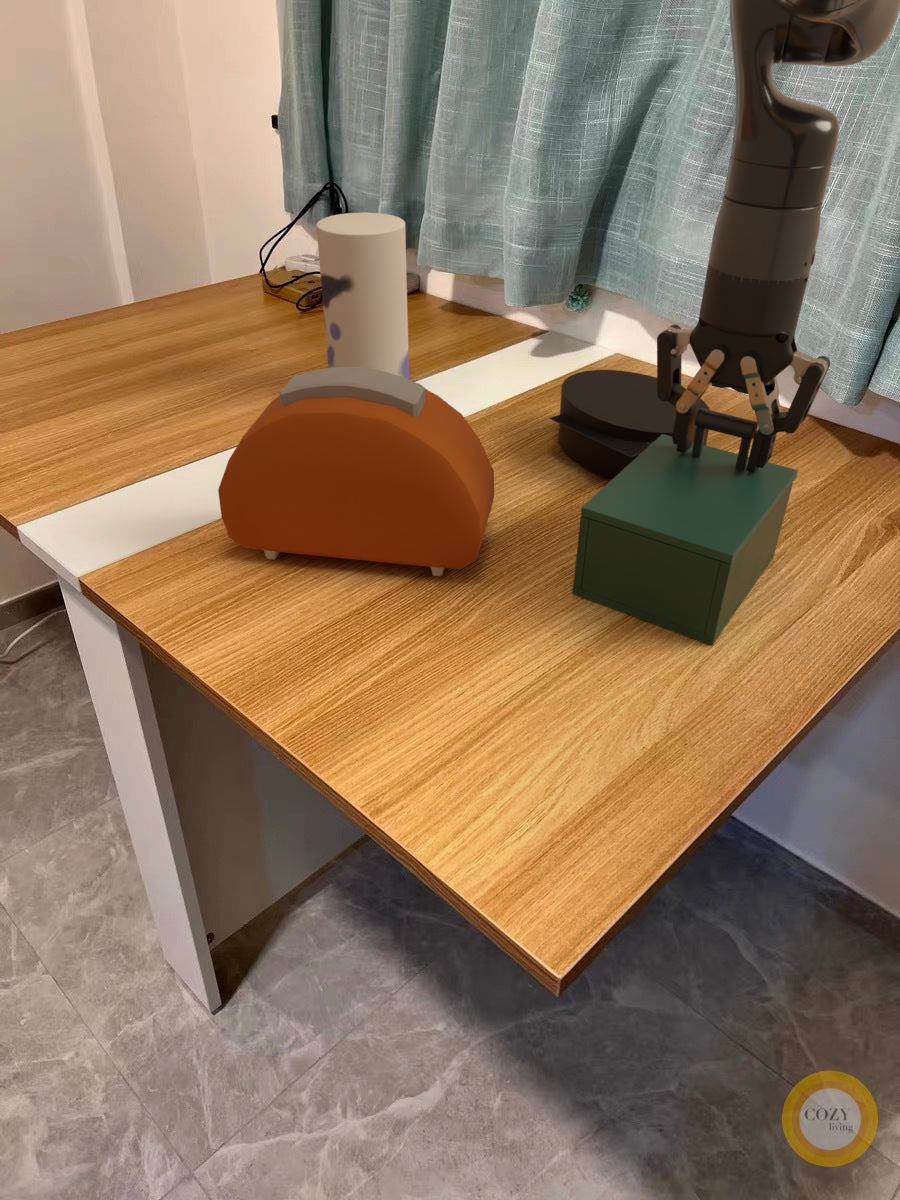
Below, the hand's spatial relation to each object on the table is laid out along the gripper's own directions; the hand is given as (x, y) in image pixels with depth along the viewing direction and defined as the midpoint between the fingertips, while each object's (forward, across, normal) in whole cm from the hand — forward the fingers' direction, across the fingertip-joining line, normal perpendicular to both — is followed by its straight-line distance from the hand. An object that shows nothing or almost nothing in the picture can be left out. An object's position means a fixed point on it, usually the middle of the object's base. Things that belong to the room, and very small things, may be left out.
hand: (718, 458), depth 78 cm
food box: (+9, 0, -6) cm, 11 cm away
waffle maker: (+9, -14, +13) cm, 21 cm away
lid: (+1, 0, -6) cm, 6 cm away
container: (+9, -48, +11) cm, 50 cm away
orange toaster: (+9, -26, -18) cm, 33 cm away
